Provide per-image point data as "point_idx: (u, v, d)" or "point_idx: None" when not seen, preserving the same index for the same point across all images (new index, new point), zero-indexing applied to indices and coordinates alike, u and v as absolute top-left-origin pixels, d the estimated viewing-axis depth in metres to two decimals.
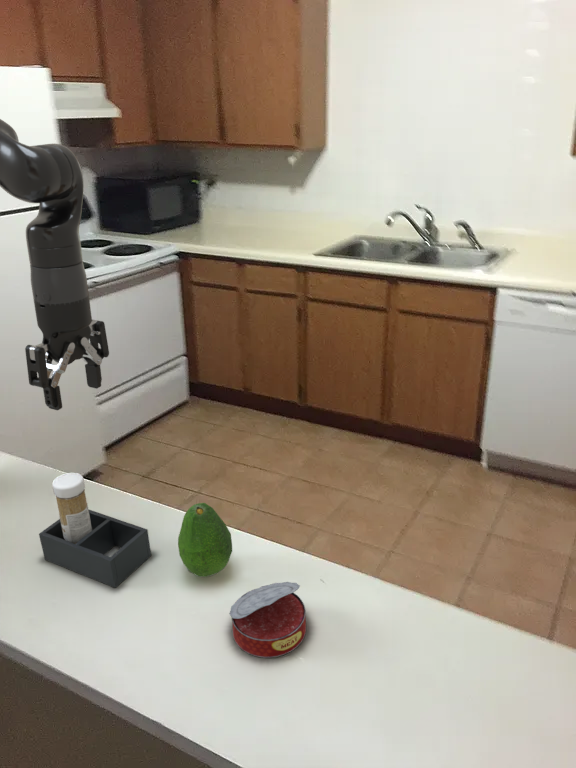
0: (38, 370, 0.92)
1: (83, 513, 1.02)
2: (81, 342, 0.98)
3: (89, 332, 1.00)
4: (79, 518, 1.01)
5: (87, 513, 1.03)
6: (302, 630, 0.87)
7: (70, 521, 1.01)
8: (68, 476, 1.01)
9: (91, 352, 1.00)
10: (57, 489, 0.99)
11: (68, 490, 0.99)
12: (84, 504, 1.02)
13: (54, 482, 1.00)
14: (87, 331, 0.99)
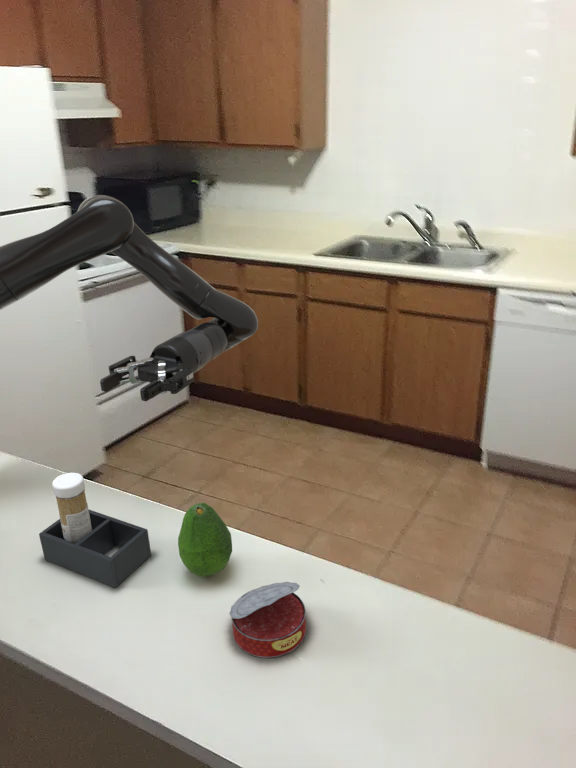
0: (184, 386, 1.11)
1: (83, 513, 1.02)
2: None
3: None
4: (79, 518, 1.01)
5: (87, 513, 1.03)
6: (302, 630, 0.87)
7: (70, 521, 1.01)
8: (68, 476, 1.01)
9: None
10: (57, 489, 0.99)
11: (68, 490, 0.99)
12: (84, 504, 1.02)
13: (54, 482, 1.00)
14: None
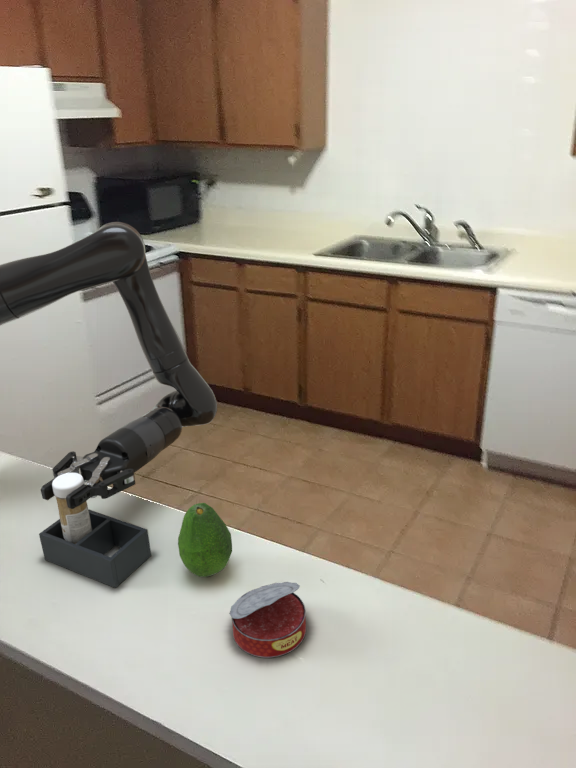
0: (119, 490, 1.02)
1: (83, 513, 1.02)
2: None
3: None
4: (79, 518, 1.01)
5: (87, 513, 1.03)
6: (302, 630, 0.87)
7: (70, 521, 1.01)
8: (68, 476, 1.01)
9: None
10: (57, 489, 0.99)
11: (68, 490, 0.99)
12: (84, 504, 1.02)
13: (54, 482, 1.00)
14: None
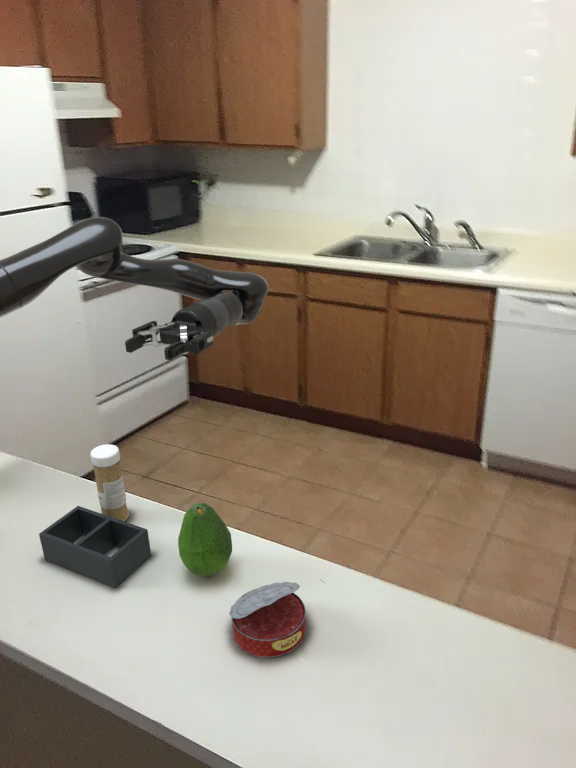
0: (205, 347, 1.16)
1: (119, 482, 1.10)
2: None
3: None
4: (115, 486, 1.09)
5: (122, 482, 1.11)
6: (302, 630, 0.87)
7: (107, 489, 1.09)
8: (105, 447, 1.09)
9: (159, 345, 1.21)
10: (95, 458, 1.07)
11: (106, 459, 1.07)
12: (119, 473, 1.10)
13: (92, 452, 1.08)
14: None
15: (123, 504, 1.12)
